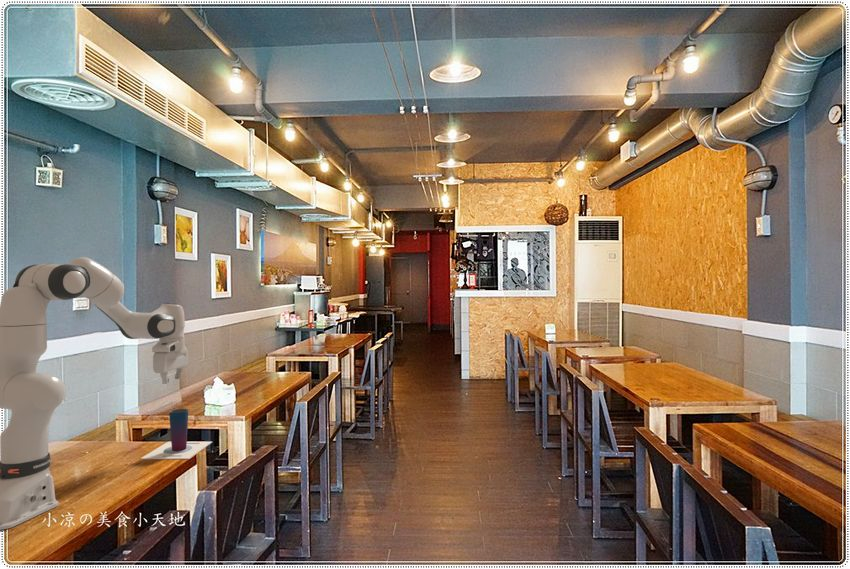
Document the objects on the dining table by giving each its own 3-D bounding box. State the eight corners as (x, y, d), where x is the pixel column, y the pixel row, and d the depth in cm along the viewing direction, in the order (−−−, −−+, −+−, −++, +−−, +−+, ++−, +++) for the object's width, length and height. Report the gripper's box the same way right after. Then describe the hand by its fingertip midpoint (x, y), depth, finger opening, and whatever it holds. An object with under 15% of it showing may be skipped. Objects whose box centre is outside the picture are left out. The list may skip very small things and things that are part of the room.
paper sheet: (189, 459, 190) (189, 458, 190) (140, 459, 190) (140, 458, 190) (212, 442, 210) (212, 441, 210) (168, 442, 210) (168, 441, 210)
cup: (169, 448, 201) (168, 409, 201) (188, 445, 204) (188, 407, 204) (169, 453, 195) (169, 413, 195) (189, 450, 198) (189, 411, 198)
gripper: (177, 342, 209) (177, 376, 209) (149, 348, 189) (149, 386, 189) (192, 342, 209) (192, 376, 209) (166, 348, 189) (166, 386, 189)
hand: (172, 381), depth 199 cm, fingers open, 8 cm apart
